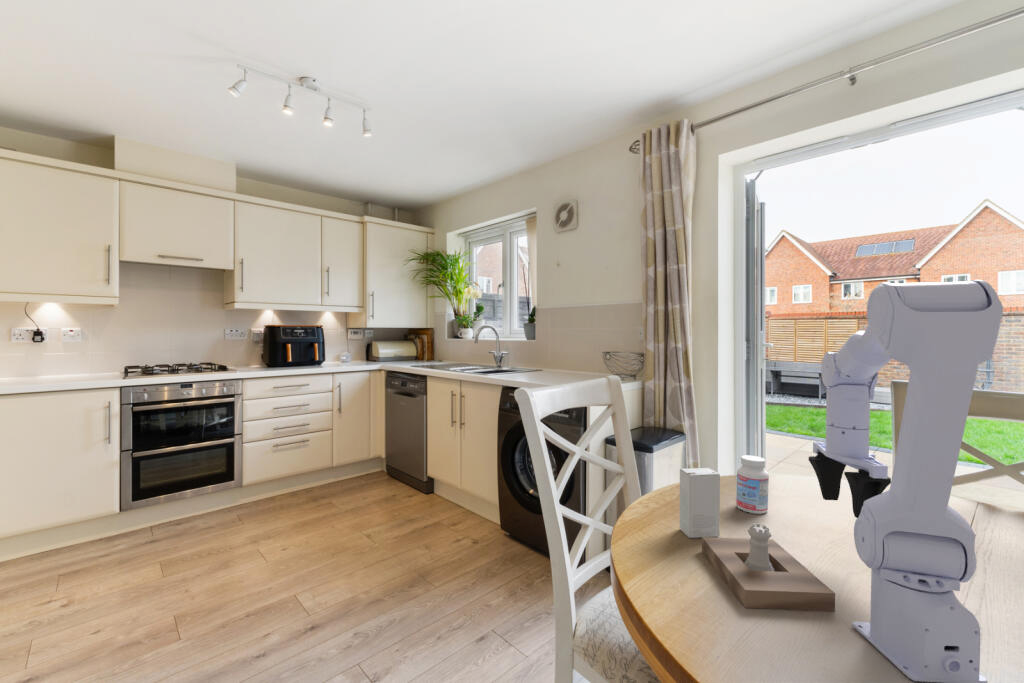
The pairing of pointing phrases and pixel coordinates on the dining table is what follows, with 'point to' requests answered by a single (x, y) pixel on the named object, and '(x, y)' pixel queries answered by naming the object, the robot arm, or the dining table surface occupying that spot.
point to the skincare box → (699, 502)
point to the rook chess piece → (759, 549)
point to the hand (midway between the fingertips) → (845, 508)
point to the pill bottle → (752, 485)
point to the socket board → (767, 577)
